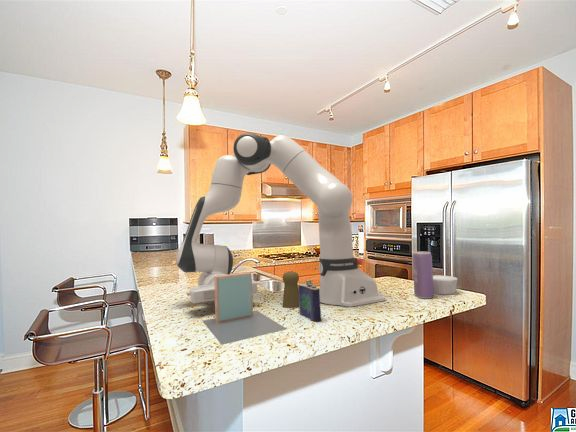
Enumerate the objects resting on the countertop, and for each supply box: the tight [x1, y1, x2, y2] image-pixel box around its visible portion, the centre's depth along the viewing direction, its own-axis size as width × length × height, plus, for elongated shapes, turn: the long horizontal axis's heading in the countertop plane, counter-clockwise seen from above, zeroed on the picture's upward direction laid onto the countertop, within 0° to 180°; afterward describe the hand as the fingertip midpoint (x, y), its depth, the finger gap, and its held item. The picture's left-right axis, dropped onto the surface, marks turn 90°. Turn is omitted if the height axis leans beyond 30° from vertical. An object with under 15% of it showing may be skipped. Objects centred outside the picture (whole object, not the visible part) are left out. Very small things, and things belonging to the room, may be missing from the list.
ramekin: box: [433, 274, 459, 296], centre depth 101 cm, size 11×11×5 cm
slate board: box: [202, 310, 288, 346], centre depth 72 cm, size 16×19×1 cm
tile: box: [214, 271, 254, 323], centre depth 77 cm, size 10×2×12 cm, turn 119°
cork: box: [282, 271, 300, 309], centre depth 88 cm, size 6×6×11 cm
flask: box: [298, 278, 322, 323], centre depth 76 cm, size 9×3×11 cm, turn 26°
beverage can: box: [411, 251, 435, 300], centre depth 95 cm, size 6×6×15 cm
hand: (231, 295), depth 79 cm, fingers closed
